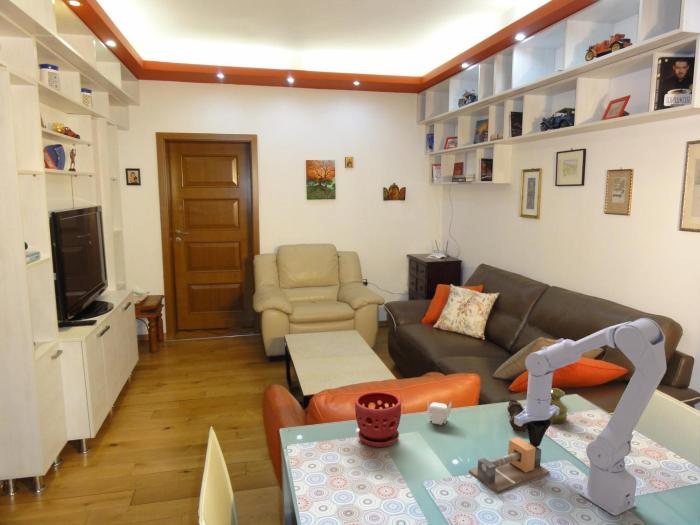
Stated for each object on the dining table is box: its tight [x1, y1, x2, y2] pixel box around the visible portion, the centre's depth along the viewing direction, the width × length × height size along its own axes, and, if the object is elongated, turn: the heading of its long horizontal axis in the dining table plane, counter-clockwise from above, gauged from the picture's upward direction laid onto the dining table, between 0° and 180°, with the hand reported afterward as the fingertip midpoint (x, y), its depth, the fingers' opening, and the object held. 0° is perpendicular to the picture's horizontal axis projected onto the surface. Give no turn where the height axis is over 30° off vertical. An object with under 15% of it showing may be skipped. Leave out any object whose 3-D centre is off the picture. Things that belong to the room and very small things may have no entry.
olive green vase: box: [548, 387, 569, 425], centre depth 157 cm, size 7×7×10 cm
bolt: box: [507, 399, 527, 433], centre depth 157 cm, size 6×5×15 cm
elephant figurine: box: [427, 397, 453, 426], centre depth 154 cm, size 8×10×7 cm
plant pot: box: [354, 391, 402, 448], centre depth 143 cm, size 13×13×12 cm
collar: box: [507, 436, 536, 473], centre depth 130 cm, size 6×3×6 cm, turn 29°
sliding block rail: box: [468, 442, 551, 494], centre depth 128 cm, size 10×18×5 cm, turn 119°
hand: (534, 444), depth 132 cm, fingers closed
